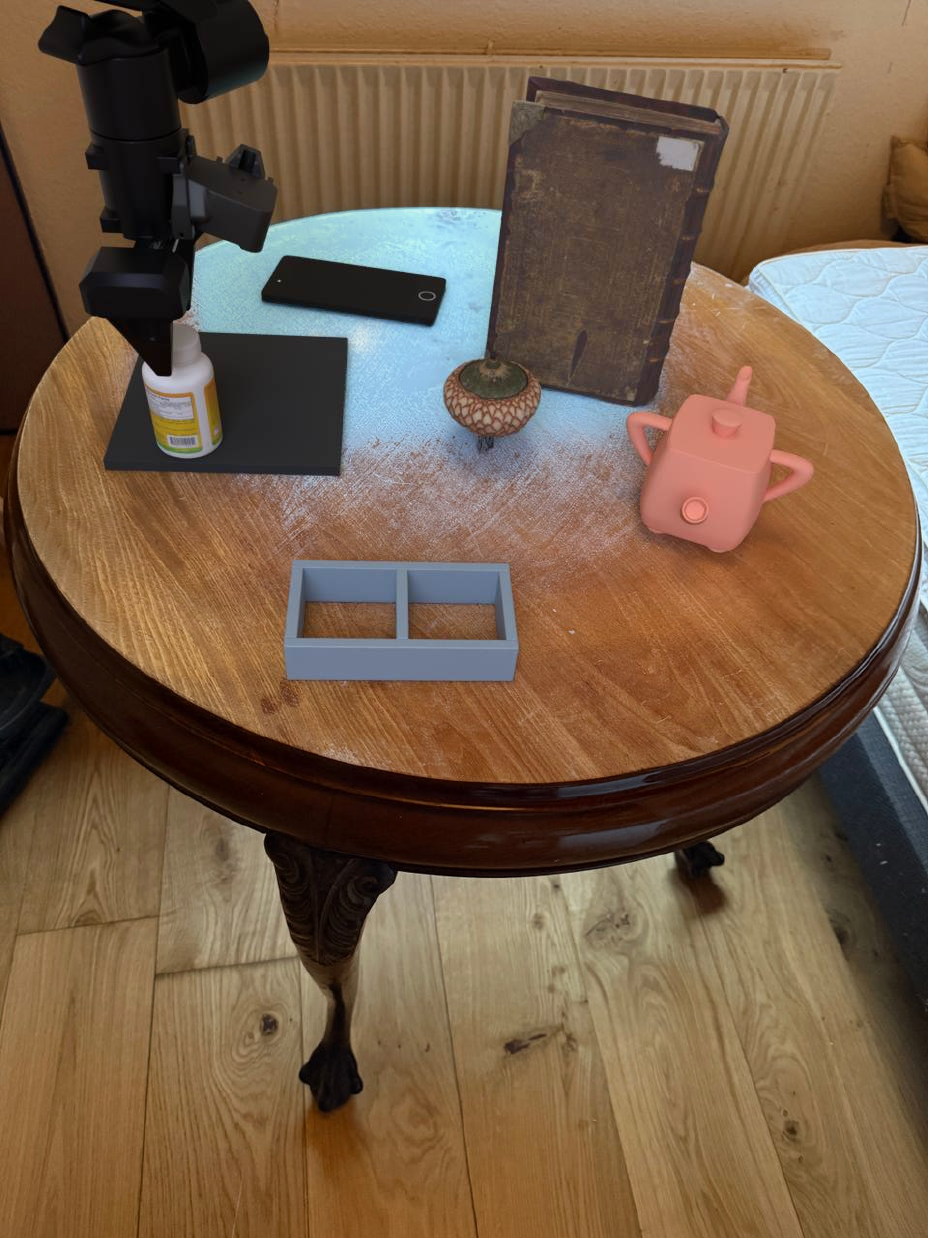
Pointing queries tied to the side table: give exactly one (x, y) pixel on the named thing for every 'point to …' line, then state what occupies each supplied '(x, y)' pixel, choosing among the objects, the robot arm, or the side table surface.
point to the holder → (400, 621)
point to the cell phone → (355, 289)
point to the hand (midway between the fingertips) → (174, 341)
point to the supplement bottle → (185, 399)
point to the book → (598, 235)
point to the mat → (252, 409)
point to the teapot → (712, 468)
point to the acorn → (491, 398)
